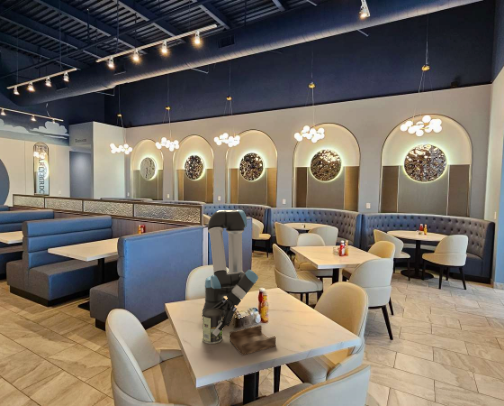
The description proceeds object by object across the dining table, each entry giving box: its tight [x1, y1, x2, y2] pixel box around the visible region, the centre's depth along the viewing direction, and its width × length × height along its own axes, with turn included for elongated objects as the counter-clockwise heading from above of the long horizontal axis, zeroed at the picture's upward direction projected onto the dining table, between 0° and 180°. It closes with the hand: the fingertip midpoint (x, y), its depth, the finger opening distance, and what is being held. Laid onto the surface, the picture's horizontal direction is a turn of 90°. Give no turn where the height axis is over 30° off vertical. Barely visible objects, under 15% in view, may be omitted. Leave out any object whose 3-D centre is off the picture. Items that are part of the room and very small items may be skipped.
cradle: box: [229, 324, 277, 356], centre depth 149 cm, size 18×15×4 cm
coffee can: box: [202, 308, 223, 345], centre depth 153 cm, size 10×10×14 cm
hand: (209, 329), depth 152 cm, fingers open, 13 cm apart
